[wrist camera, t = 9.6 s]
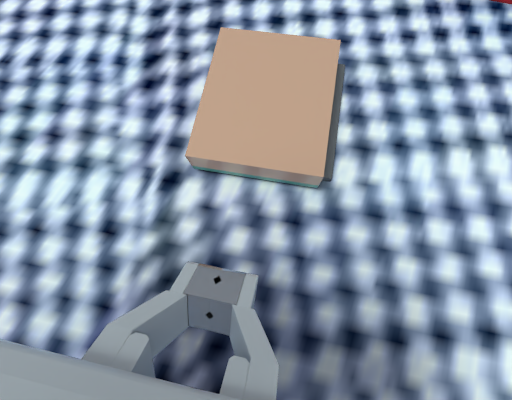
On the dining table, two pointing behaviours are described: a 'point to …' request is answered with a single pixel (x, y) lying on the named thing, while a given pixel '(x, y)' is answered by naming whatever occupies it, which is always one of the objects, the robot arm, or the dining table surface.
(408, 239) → the dining table surface
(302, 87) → the tile
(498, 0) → the dish drying mat
